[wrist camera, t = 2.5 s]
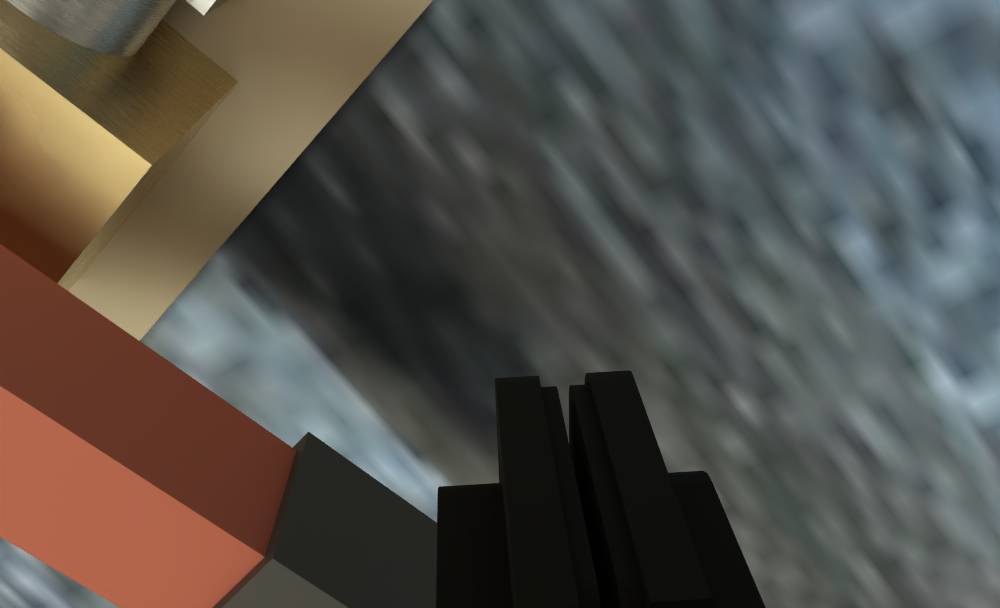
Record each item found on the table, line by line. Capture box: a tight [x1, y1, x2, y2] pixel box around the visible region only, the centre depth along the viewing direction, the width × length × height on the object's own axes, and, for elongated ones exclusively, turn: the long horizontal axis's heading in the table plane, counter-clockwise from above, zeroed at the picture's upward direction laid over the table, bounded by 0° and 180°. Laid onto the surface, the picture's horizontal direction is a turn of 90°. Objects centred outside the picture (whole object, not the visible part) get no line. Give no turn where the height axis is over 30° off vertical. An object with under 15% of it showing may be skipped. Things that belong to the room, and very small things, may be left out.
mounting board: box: [68, 0, 433, 341], centre depth 23 cm, size 22×12×2 cm, turn 137°
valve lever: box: [0, 244, 437, 608], centre depth 16 cm, size 16×4×4 cm, turn 47°
